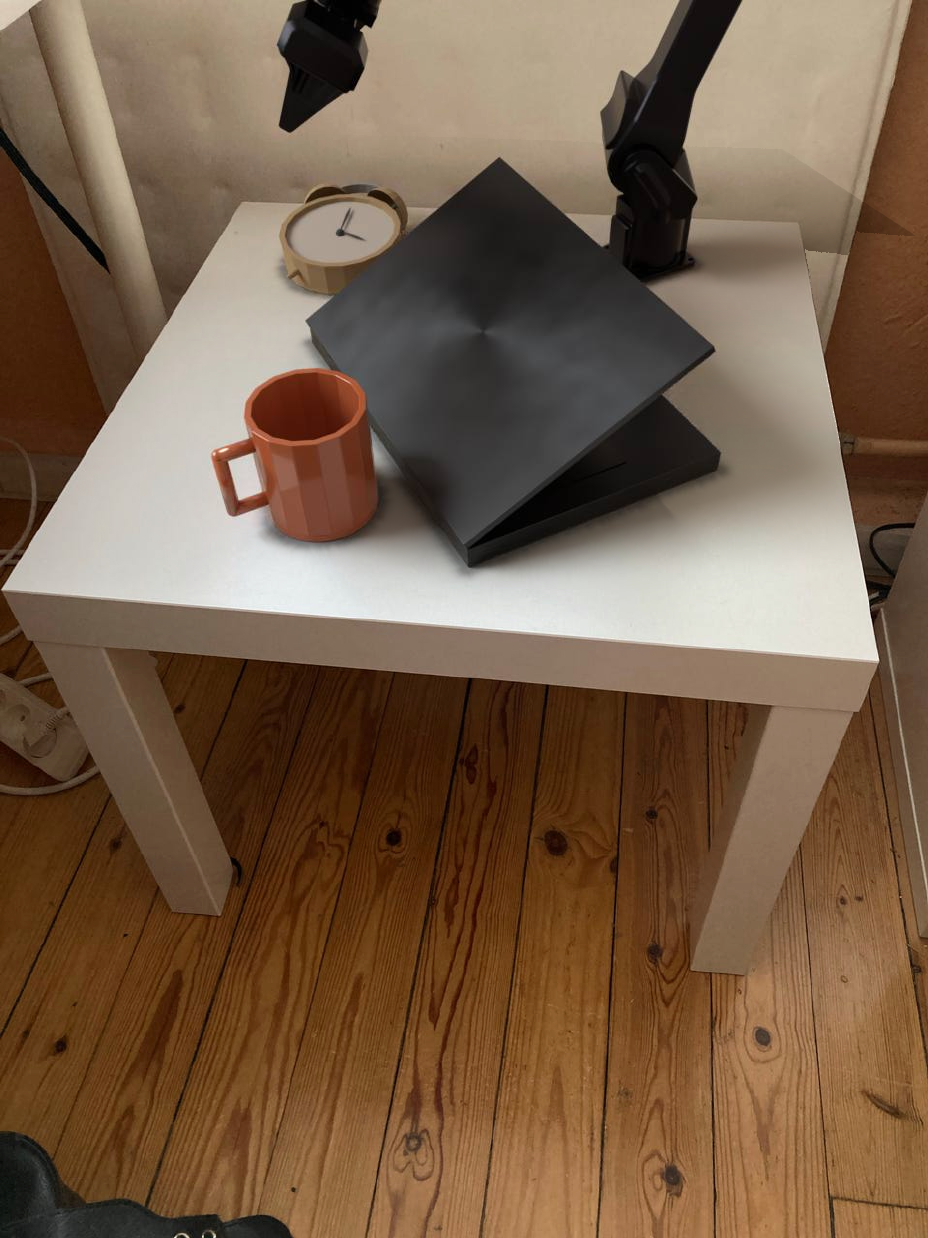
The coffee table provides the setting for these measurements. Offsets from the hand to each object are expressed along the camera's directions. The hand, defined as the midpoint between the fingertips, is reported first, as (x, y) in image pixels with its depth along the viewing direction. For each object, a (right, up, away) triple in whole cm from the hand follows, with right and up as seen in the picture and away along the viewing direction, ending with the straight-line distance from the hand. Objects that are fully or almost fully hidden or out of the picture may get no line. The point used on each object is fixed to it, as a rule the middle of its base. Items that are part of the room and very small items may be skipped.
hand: (292, 104), depth 85 cm
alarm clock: (+3, -8, +13) cm, 15 cm away
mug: (+3, -35, -10) cm, 36 cm away
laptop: (+17, -25, -3) cm, 31 cm away
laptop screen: (+16, -22, -8) cm, 28 cm away
